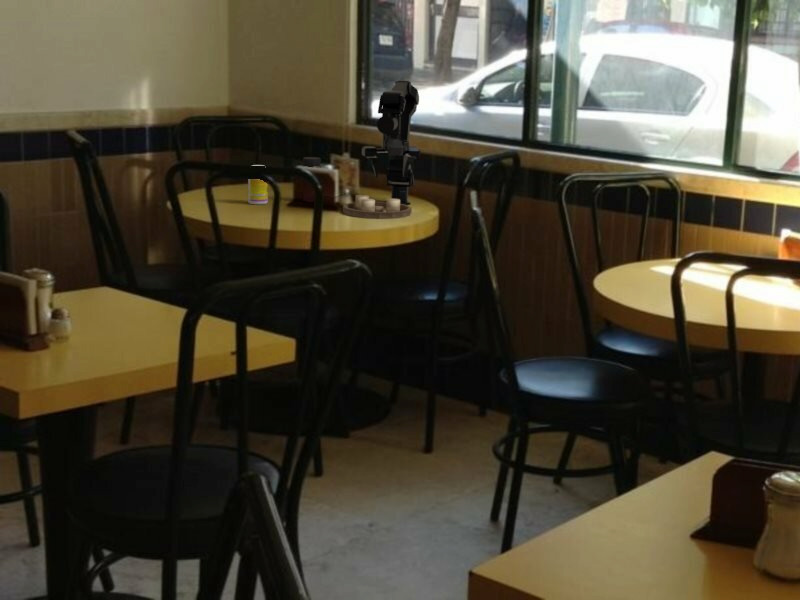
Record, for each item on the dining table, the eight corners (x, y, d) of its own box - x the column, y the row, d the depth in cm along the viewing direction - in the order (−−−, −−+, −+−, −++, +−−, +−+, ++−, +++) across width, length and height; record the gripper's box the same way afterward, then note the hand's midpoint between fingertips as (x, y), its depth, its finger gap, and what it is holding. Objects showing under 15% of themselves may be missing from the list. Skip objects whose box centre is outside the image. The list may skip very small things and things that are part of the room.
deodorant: (300, 200, 447) (301, 157, 444) (316, 199, 450) (317, 157, 446) (305, 203, 442) (306, 159, 439) (321, 202, 444) (322, 159, 441)
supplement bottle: (270, 204, 436) (270, 166, 433) (251, 205, 434) (251, 167, 431) (264, 201, 442) (265, 164, 439) (245, 202, 440) (246, 164, 437)
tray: (337, 210, 429) (337, 201, 429) (400, 209, 435) (401, 201, 434) (352, 221, 409) (352, 212, 408) (418, 220, 414) (419, 212, 414)
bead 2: (384, 213, 420) (385, 198, 419) (397, 213, 421) (398, 198, 420) (388, 216, 416) (388, 200, 415) (401, 215, 417) (401, 200, 416)
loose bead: (353, 209, 426) (354, 195, 425) (366, 209, 427) (367, 194, 426) (356, 212, 422) (357, 197, 421) (370, 212, 423) (370, 196, 422)
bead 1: (359, 214, 418) (360, 198, 417) (372, 214, 419) (373, 198, 418) (362, 216, 414) (363, 201, 413) (376, 216, 415) (376, 200, 414)
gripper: (368, 133, 415) (367, 181, 419) (425, 133, 419) (423, 181, 423) (361, 129, 425) (360, 176, 429) (416, 129, 430) (415, 175, 434)
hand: (390, 177), depth 428 cm, fingers open, 9 cm apart
